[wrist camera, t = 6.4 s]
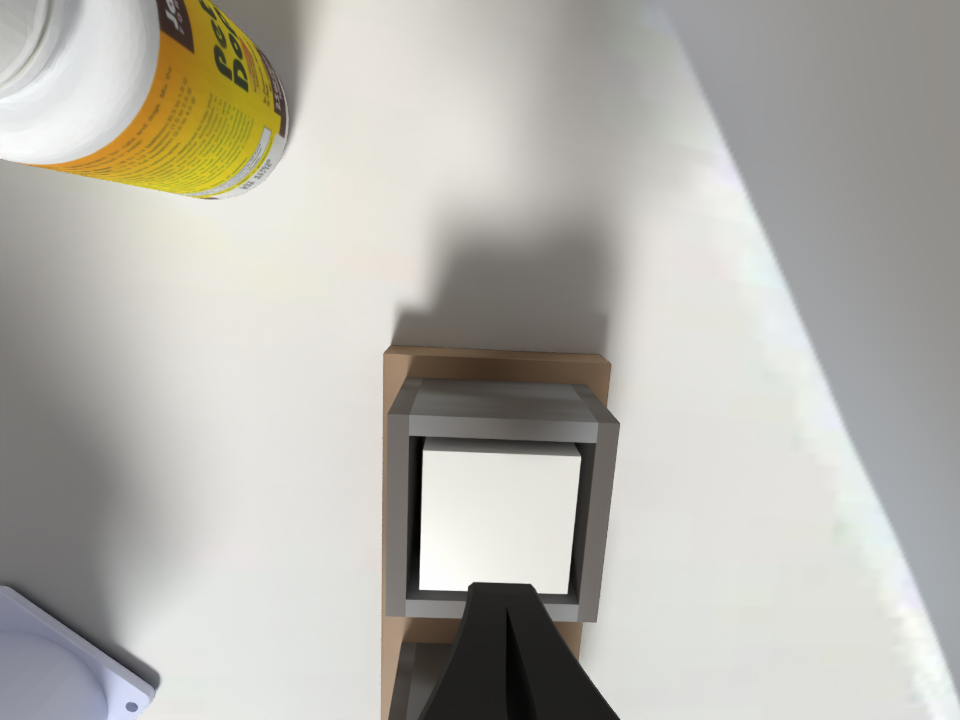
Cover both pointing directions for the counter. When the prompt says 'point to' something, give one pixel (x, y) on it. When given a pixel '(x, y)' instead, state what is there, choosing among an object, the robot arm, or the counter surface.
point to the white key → (497, 512)
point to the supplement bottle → (139, 95)
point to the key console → (487, 415)
